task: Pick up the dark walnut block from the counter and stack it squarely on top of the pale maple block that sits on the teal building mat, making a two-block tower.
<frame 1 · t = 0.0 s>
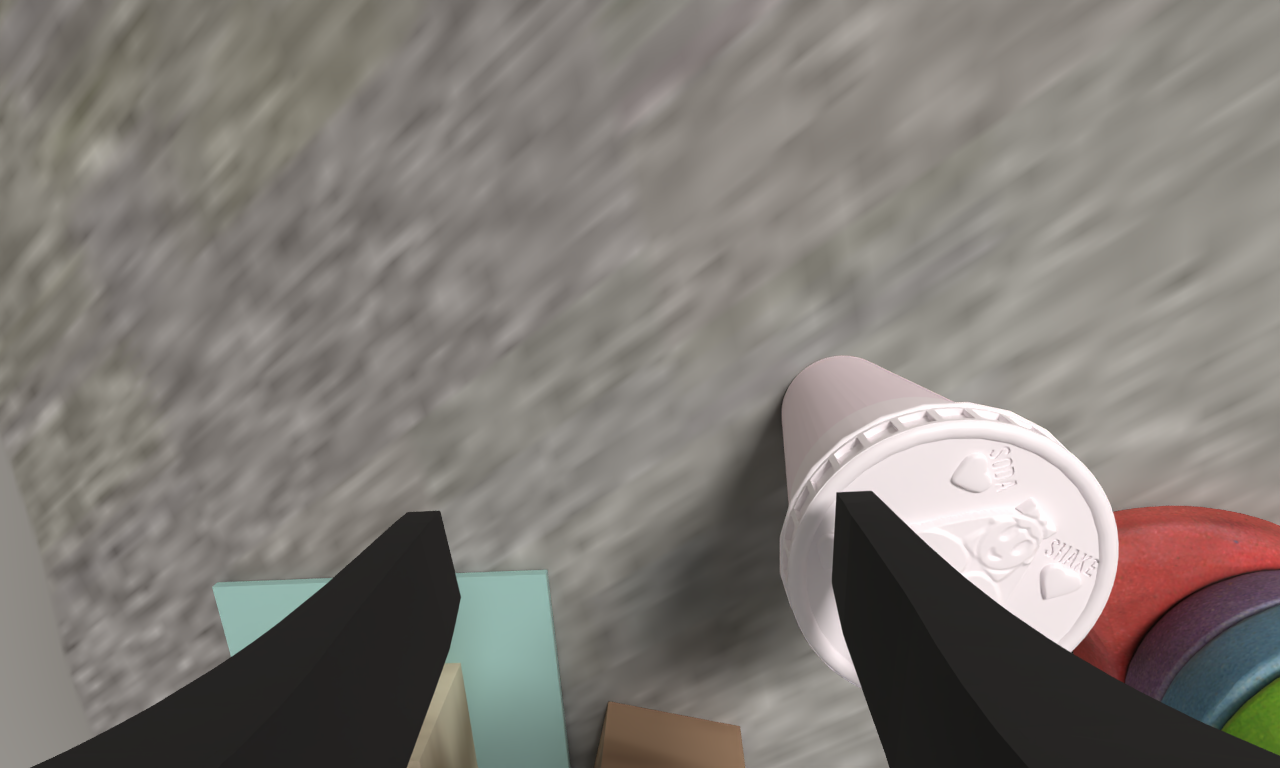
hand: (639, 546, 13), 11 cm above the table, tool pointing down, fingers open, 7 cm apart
smoothie: (838, 408, 23), on the table, touching gripper
stacking bear: (1185, 630, 25), on the table
walnut block: (660, 764, 28), on the table
maple block: (404, 721, 27), resting on building mat
building mat: (407, 715, 27), on the table
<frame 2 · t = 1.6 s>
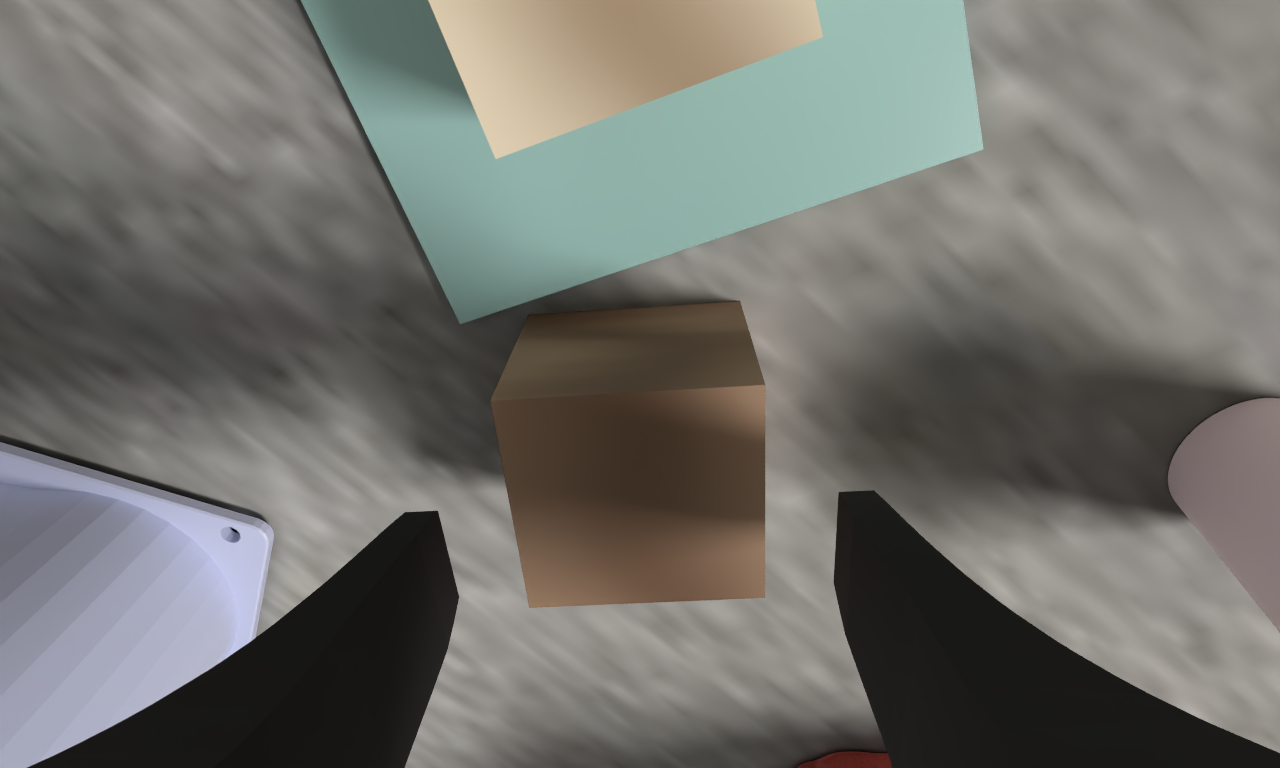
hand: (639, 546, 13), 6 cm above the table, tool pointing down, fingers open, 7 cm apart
smoothie: (1239, 457, 19), on the table
walnut block: (641, 399, 18), on the table
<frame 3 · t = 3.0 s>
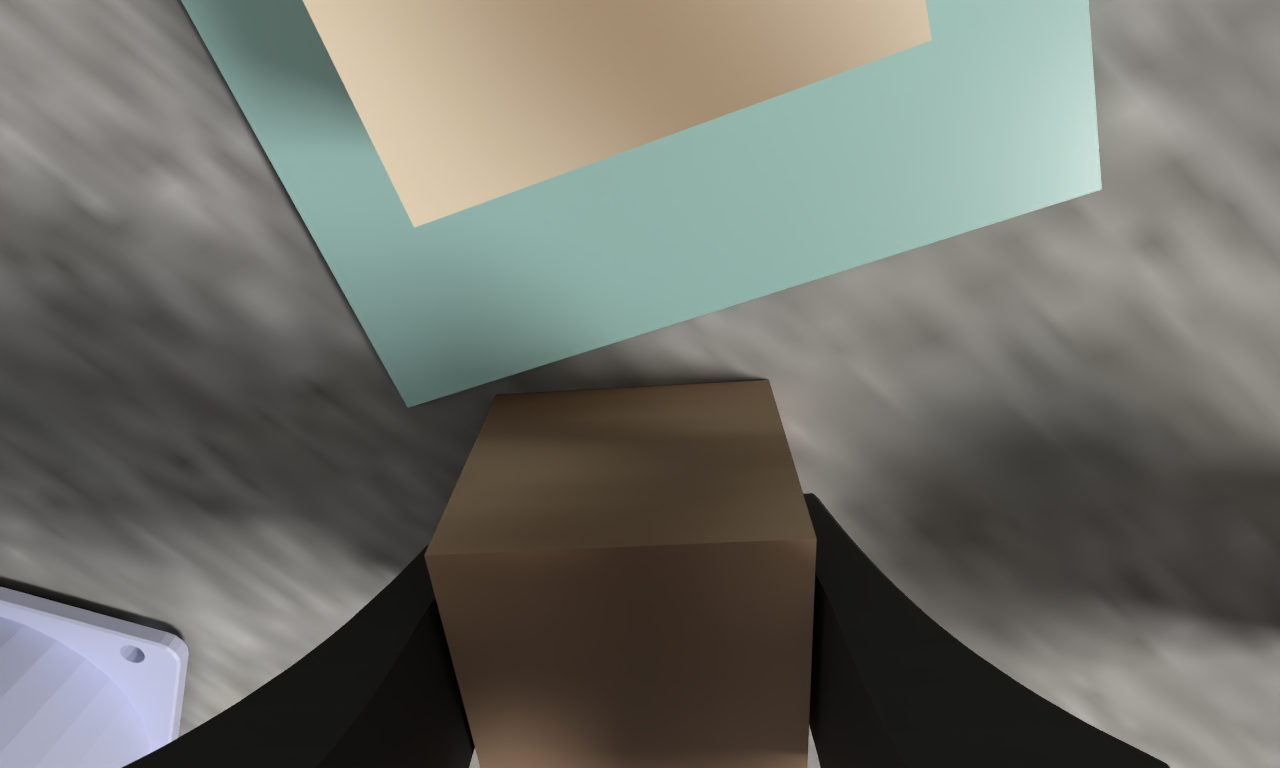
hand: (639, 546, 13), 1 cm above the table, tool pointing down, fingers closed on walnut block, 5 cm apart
walnut block: (641, 499, 14), on the table, touching gripper
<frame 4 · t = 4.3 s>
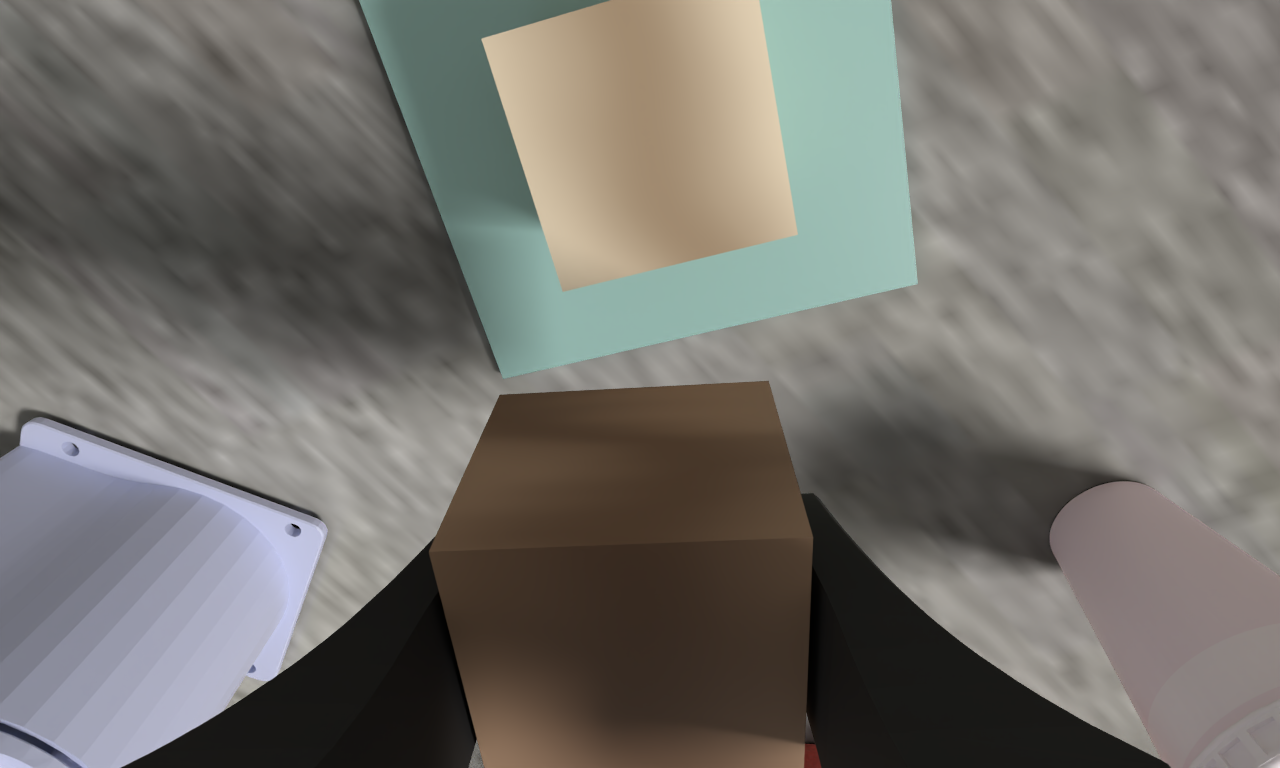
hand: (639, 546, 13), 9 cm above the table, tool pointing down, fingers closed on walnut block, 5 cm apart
smoothie: (1105, 524, 24), on the table
walnut block: (642, 499, 14), point 7 cm above the table, touching gripper
maple block: (650, 115, 18), resting on building mat
building mat: (650, 114, 18), on the table
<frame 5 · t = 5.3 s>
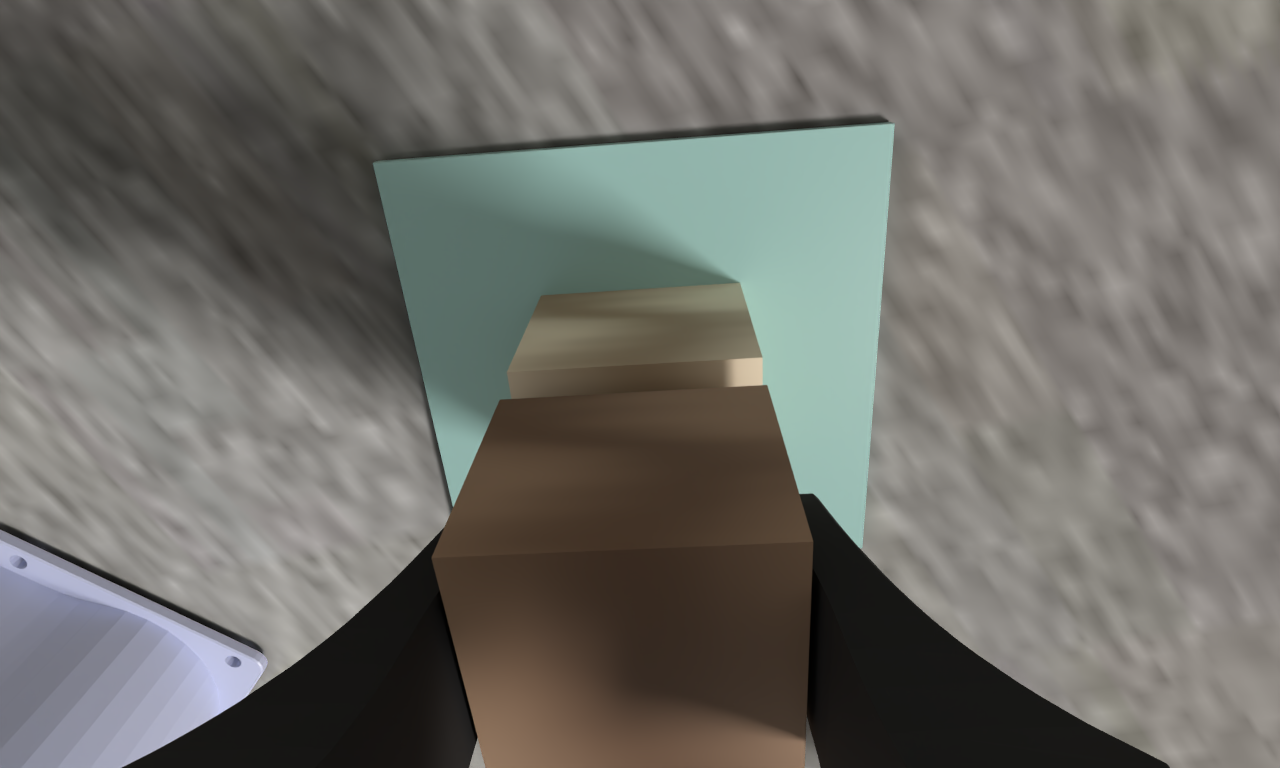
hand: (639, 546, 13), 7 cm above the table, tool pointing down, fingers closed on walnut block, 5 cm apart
walnut block: (642, 502, 15), point 6 cm above the table, touching gripper
maple block: (646, 378, 19), resting on building mat
building mat: (647, 373, 19), on the table
when the fingers open (7 cm above the table, at t = 5.9 s): walnut block stays where it is, resting on maple block.
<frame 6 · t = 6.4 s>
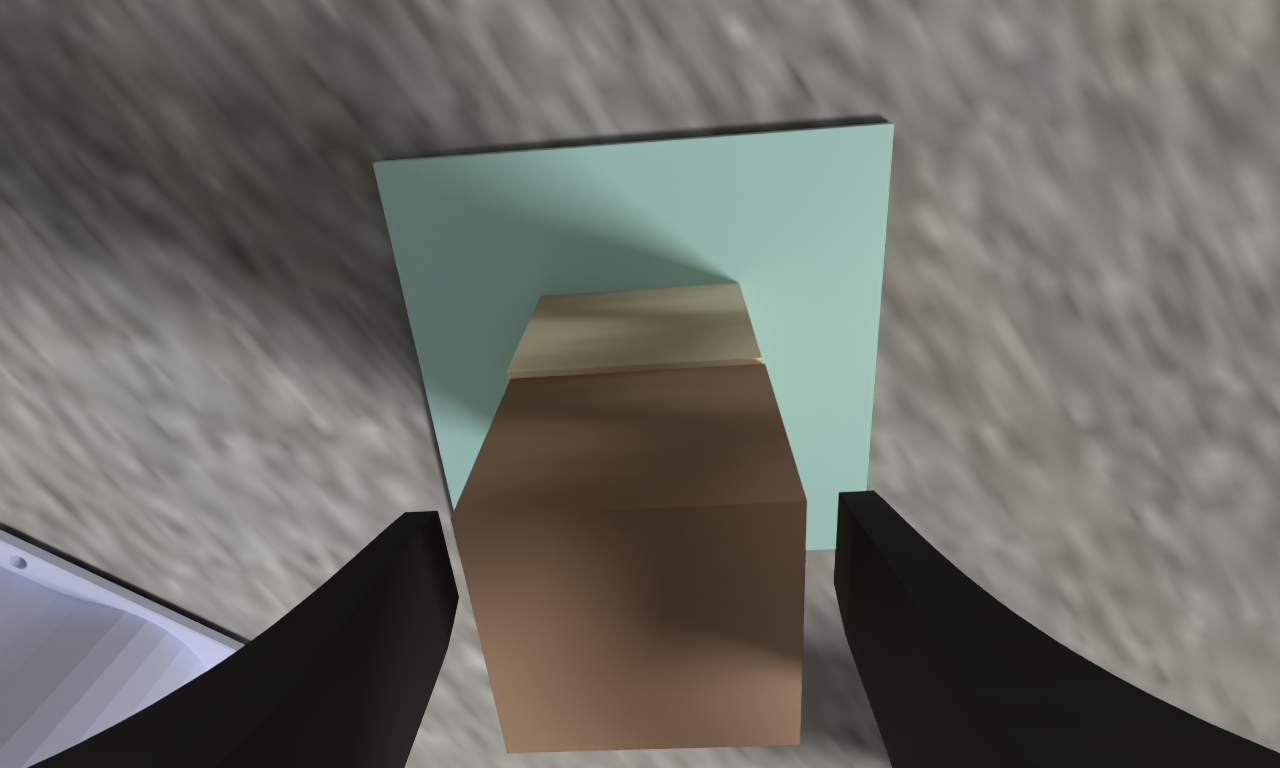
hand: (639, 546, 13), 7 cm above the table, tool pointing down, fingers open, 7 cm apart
walnut block: (646, 477, 15), point 5 cm above the table, touching maple block
maple block: (646, 378, 19), resting on building mat, touching walnut block
building mat: (646, 373, 19), on the table
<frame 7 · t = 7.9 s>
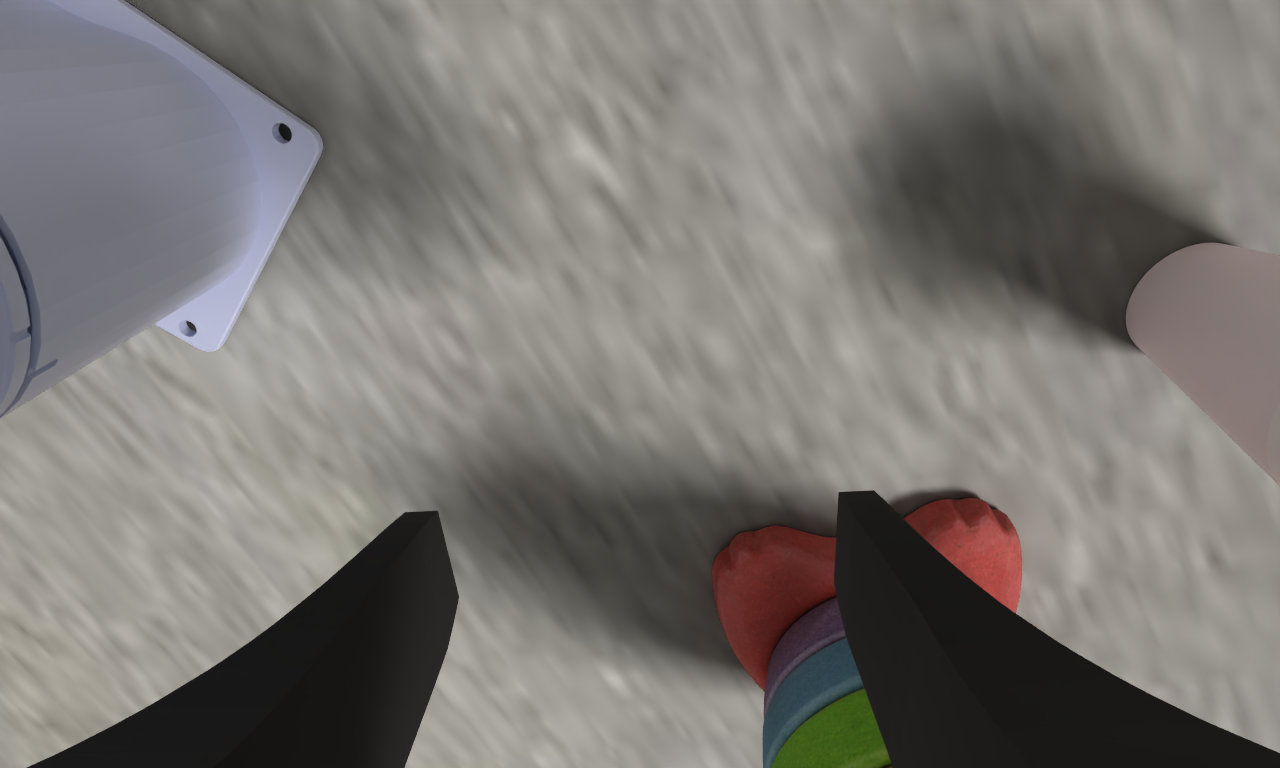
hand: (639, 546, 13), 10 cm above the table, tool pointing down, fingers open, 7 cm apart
smoothie: (1185, 300, 22), on the table
stacking bear: (861, 610, 28), on the table
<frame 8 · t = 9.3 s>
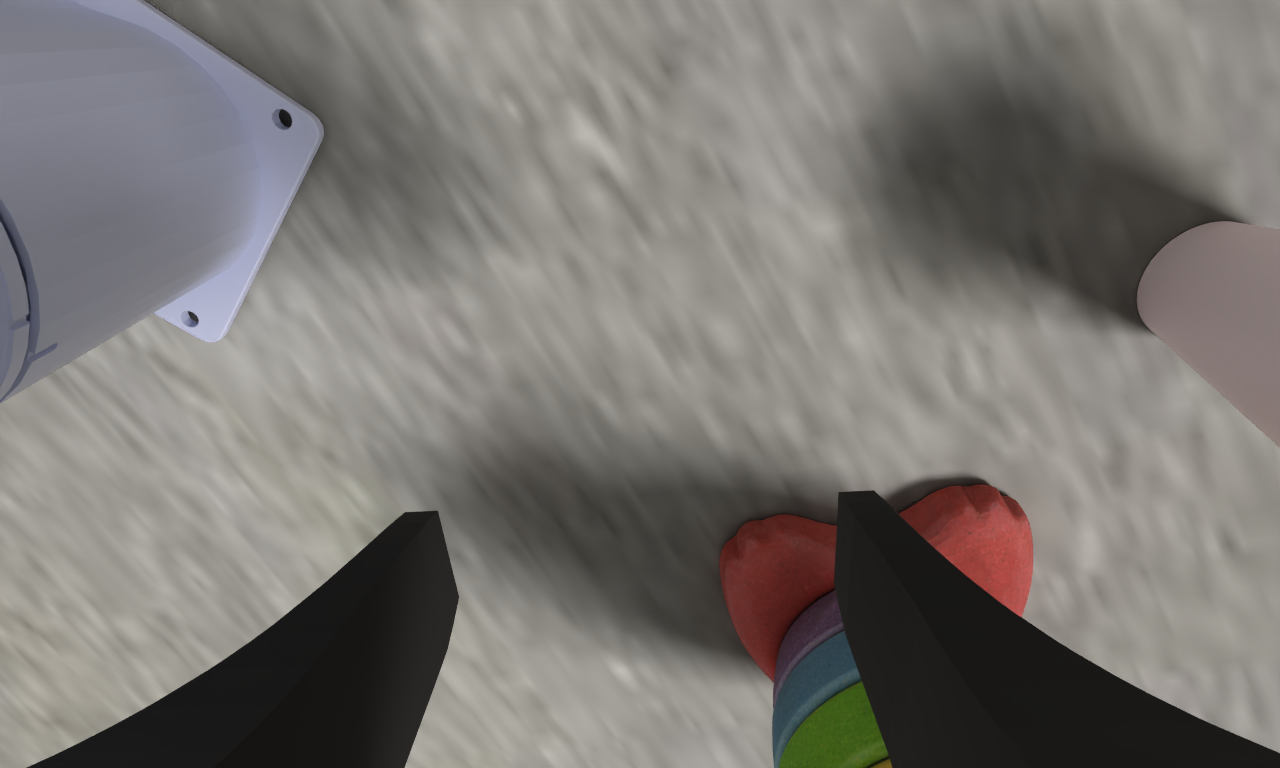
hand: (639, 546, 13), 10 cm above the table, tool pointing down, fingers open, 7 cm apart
smoothie: (1197, 280, 22), on the table
stacking bear: (870, 600, 27), on the table
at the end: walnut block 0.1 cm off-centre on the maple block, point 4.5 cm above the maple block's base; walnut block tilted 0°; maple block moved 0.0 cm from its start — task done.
